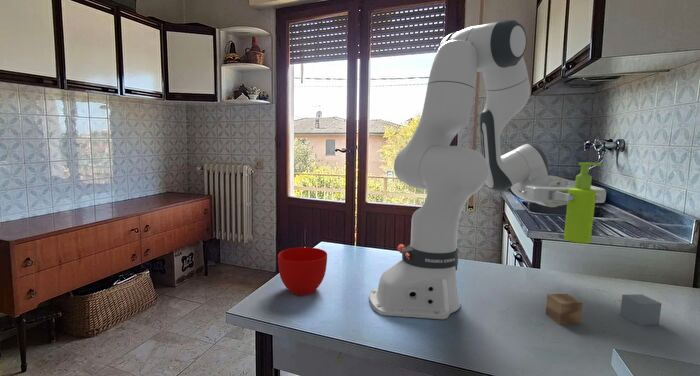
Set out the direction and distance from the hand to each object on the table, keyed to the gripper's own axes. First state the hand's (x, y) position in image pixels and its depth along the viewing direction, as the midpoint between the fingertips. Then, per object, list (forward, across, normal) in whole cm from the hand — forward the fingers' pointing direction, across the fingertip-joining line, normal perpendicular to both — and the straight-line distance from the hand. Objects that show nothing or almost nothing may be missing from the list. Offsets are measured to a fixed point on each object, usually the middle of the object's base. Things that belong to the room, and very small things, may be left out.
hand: (585, 198), depth 91 cm
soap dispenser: (-1, 0, +11) cm, 11 cm away
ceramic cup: (-11, -69, +28) cm, 75 cm away
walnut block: (+9, -10, +27) cm, 30 cm away
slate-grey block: (+10, +8, +27) cm, 30 cm away
